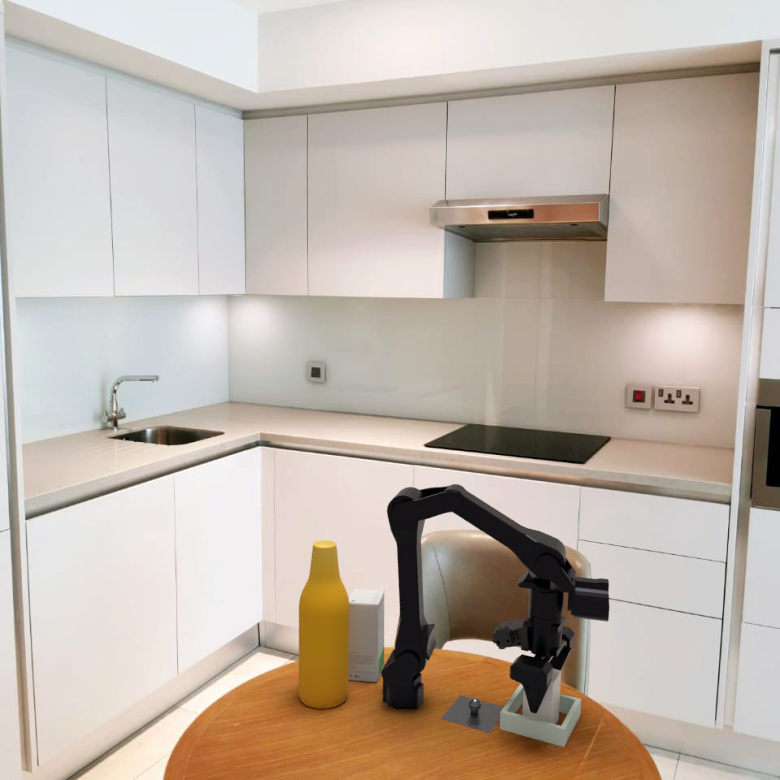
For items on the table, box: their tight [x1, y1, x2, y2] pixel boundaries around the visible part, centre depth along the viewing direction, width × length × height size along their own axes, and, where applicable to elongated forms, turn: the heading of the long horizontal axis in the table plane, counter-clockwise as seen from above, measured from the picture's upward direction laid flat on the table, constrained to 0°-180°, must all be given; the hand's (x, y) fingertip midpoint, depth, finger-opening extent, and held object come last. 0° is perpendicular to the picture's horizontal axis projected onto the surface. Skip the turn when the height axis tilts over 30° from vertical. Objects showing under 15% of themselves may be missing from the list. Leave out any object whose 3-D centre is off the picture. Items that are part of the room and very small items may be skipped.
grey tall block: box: [522, 669, 562, 725], centre depth 135 cm, size 5×5×9 cm
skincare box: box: [348, 587, 385, 683], centre depth 153 cm, size 8×7×16 cm
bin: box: [499, 683, 582, 748], centre depth 135 cm, size 11×11×4 cm
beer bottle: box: [297, 540, 350, 710], centre depth 142 cm, size 9×9×29 cm
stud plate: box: [440, 695, 504, 734], centre depth 138 cm, size 9×9×4 cm
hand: (541, 699), depth 135 cm, fingers open, 9 cm apart
